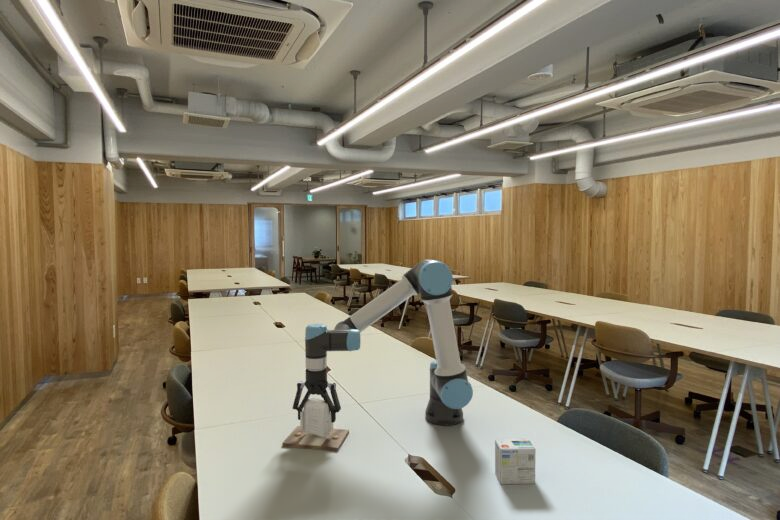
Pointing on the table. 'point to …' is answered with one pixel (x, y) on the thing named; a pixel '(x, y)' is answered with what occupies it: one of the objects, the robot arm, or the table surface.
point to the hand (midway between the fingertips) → (316, 429)
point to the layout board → (316, 440)
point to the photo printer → (316, 417)
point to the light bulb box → (515, 461)
